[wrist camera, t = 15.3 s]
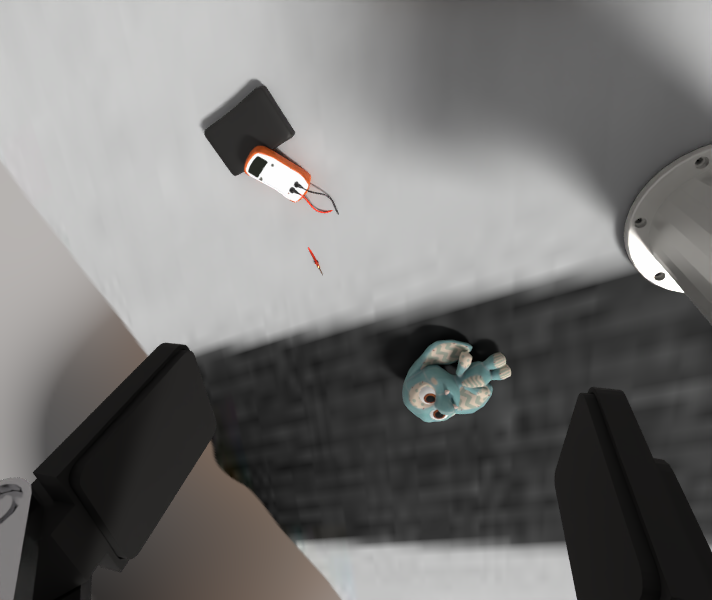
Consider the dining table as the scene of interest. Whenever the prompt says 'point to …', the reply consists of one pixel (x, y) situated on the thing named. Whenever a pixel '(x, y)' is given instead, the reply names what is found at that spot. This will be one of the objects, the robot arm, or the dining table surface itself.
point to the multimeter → (260, 146)
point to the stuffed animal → (450, 381)
